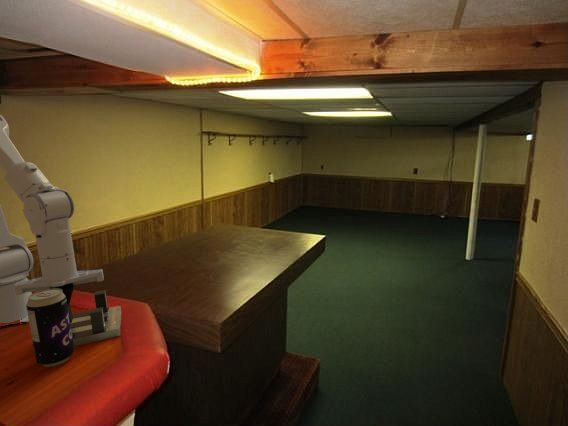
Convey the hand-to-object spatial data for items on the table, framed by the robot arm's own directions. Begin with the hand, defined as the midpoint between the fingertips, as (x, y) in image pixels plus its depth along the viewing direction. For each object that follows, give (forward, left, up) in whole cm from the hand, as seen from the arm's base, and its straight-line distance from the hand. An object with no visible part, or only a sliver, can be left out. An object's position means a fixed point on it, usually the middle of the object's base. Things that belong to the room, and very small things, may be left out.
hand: (68, 321), depth 74 cm
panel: (0, +2, -3) cm, 3 cm away
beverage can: (+10, -1, -3) cm, 10 cm away
